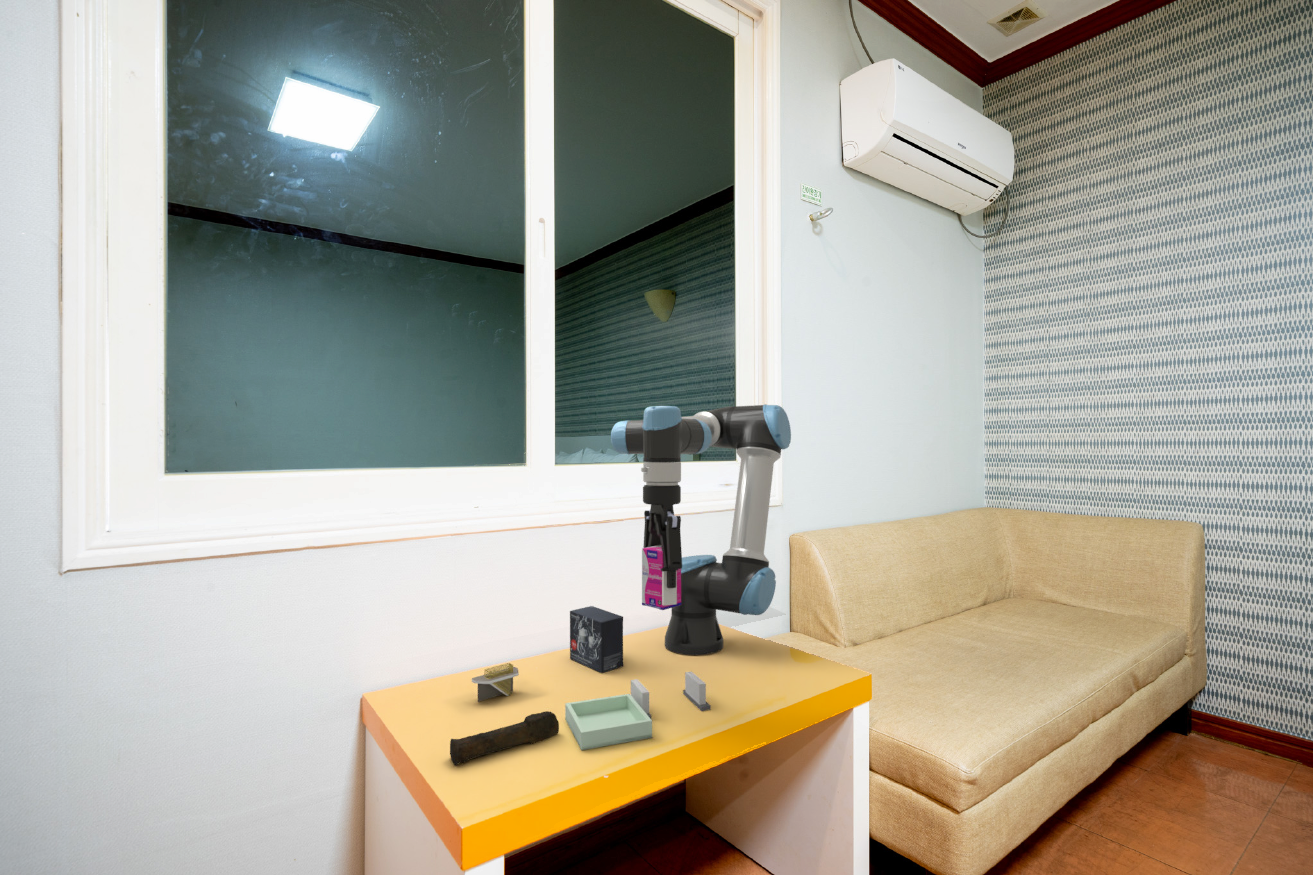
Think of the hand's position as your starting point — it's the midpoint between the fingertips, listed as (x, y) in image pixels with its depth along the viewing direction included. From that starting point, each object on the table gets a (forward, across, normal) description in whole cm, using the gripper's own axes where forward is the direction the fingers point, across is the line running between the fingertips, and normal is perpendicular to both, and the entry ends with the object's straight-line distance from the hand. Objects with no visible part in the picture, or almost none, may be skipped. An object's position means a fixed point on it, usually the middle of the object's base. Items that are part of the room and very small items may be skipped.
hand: (661, 599), depth 121 cm
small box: (+22, -30, -5) cm, 37 cm away
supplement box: (+1, 0, 0) cm, 1 cm away
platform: (+22, -18, -29) cm, 41 cm away
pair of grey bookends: (+21, -1, +2) cm, 22 cm away
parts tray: (+22, +4, -12) cm, 25 cm away
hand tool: (+22, +4, -30) cm, 38 cm away
